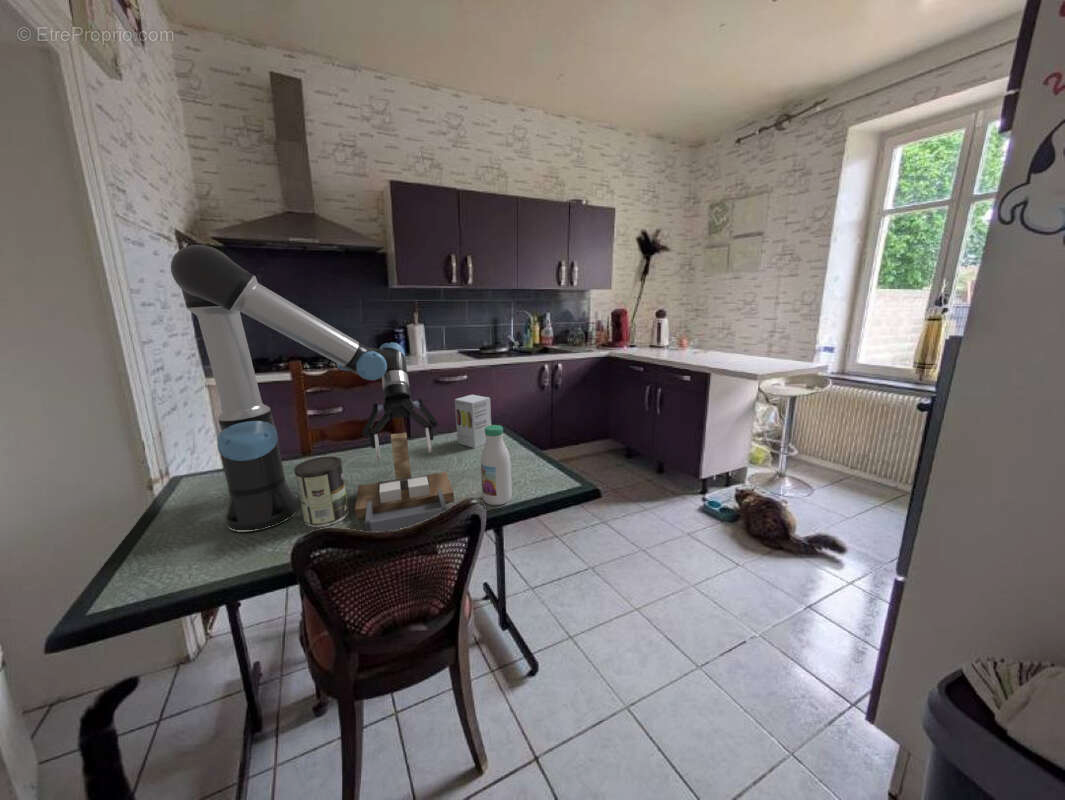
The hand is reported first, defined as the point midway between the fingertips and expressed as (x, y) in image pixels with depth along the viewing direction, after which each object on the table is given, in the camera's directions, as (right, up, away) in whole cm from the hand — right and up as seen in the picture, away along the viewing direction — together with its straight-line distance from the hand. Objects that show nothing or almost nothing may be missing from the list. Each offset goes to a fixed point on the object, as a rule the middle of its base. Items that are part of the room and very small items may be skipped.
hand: (404, 454), depth 112 cm
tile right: (+5, -9, -4) cm, 11 cm away
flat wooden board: (+1, -11, -1) cm, 12 cm away
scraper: (-1, -8, +1) cm, 8 cm away
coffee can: (-16, -14, -10) cm, 24 cm away
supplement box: (+14, -1, +39) cm, 41 cm away
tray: (+5, -14, -13) cm, 20 cm away
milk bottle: (+26, -12, -3) cm, 28 cm away
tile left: (-2, -10, -6) cm, 12 cm away
